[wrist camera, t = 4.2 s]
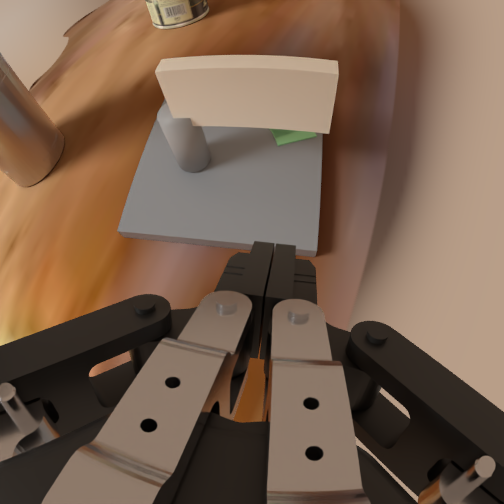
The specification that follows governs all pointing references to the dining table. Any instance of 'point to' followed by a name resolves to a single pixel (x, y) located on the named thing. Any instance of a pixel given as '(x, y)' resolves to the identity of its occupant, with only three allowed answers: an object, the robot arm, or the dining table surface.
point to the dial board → (230, 191)
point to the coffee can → (176, 12)
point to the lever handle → (241, 98)
